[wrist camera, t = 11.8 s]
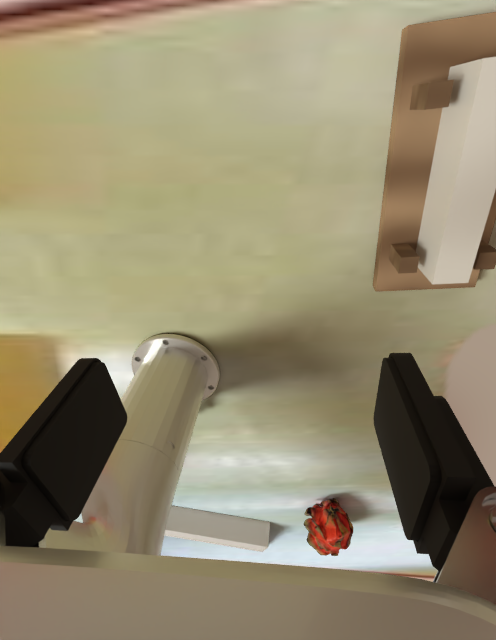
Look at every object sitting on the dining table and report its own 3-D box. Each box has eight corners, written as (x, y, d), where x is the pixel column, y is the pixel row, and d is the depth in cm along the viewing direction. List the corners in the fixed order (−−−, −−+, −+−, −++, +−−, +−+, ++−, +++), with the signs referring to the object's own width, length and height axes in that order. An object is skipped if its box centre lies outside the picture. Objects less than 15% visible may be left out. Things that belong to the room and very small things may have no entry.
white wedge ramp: (264, 527, 76) (270, 519, 69) (262, 551, 73) (268, 547, 65) (123, 503, 77) (113, 493, 69) (115, 527, 74) (104, 519, 66)
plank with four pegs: (468, 280, 35) (492, 303, 31) (372, 285, 37) (383, 307, 32) (547, 7, 23) (604, -15, 19) (402, 29, 25) (425, 13, 21)
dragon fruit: (317, 514, 68) (324, 474, 63) (354, 543, 63) (366, 502, 58) (294, 545, 62) (300, 504, 57) (334, 580, 57) (345, 538, 52)
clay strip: (445, 260, 33) (468, 282, 29) (413, 262, 33) (432, 284, 29) (493, 61, 24) (536, 51, 20) (450, 67, 25) (483, 58, 20)
